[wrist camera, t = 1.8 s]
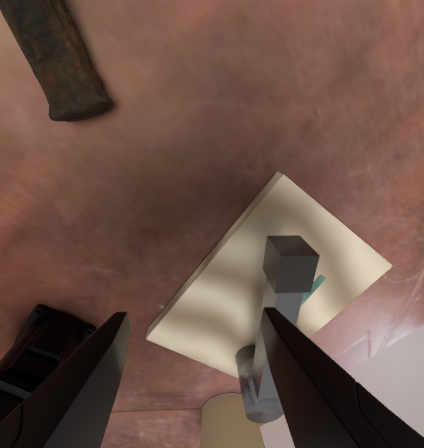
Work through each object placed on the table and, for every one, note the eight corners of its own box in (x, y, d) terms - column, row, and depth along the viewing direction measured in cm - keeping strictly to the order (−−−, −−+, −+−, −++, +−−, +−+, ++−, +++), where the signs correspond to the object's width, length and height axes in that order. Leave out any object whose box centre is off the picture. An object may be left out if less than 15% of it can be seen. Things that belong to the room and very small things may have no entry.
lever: (266, 367, 28) (283, 425, 22) (234, 369, 27) (244, 428, 22) (293, 221, 20) (330, 255, 15) (249, 221, 20) (270, 256, 14)
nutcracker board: (251, 373, 30) (261, 412, 26) (148, 327, 26) (139, 365, 22) (381, 258, 24) (419, 284, 20) (277, 171, 20) (299, 182, 16)
